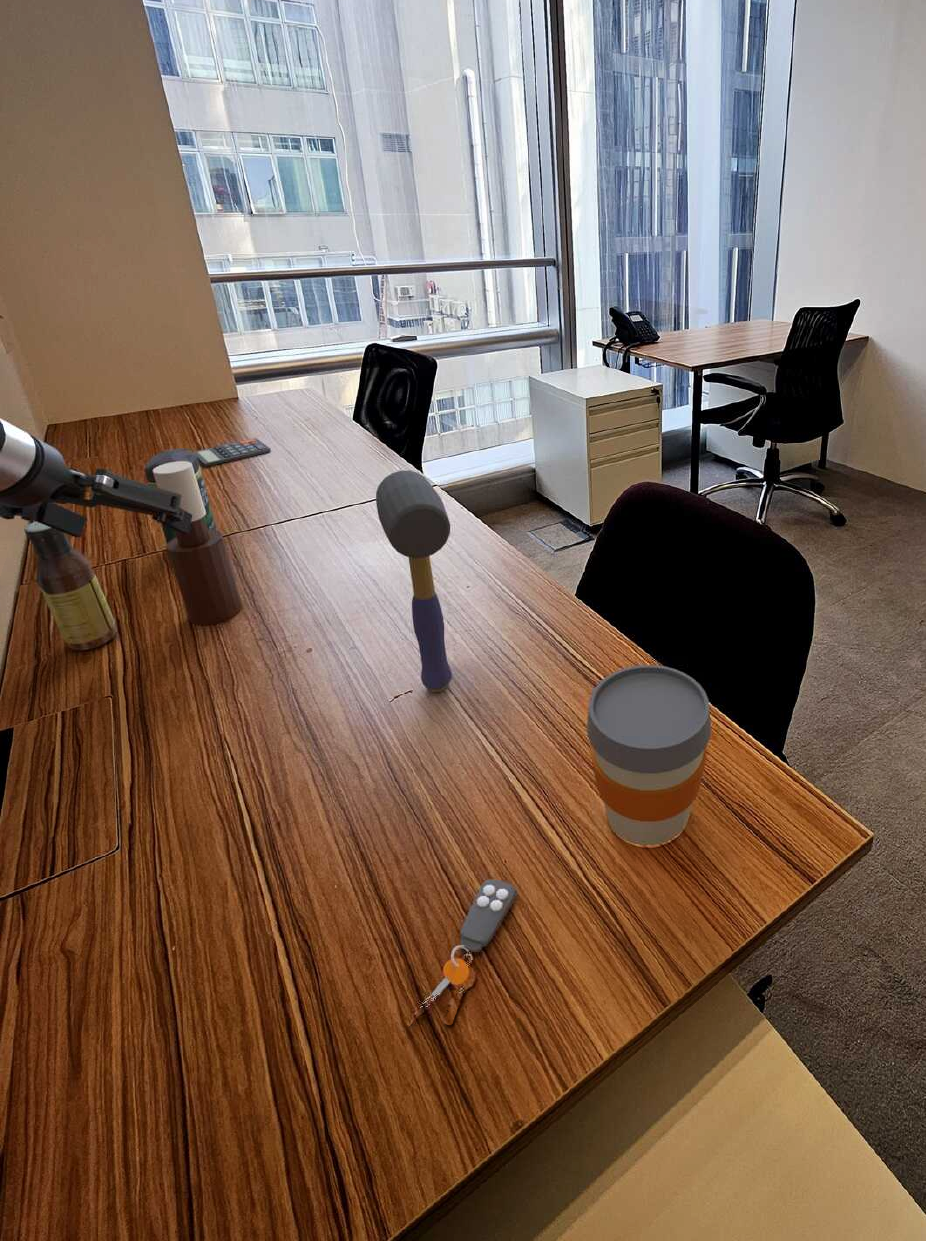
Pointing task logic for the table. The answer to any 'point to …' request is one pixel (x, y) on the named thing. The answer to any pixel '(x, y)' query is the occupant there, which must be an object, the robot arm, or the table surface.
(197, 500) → the bung
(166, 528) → the coffee jar
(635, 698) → the reusable coffee cup
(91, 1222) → the table surface
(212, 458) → the calculator
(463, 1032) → the table surface
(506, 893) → the key chain
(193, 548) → the bottle
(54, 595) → the sauce bottle
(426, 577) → the rubber mallet
